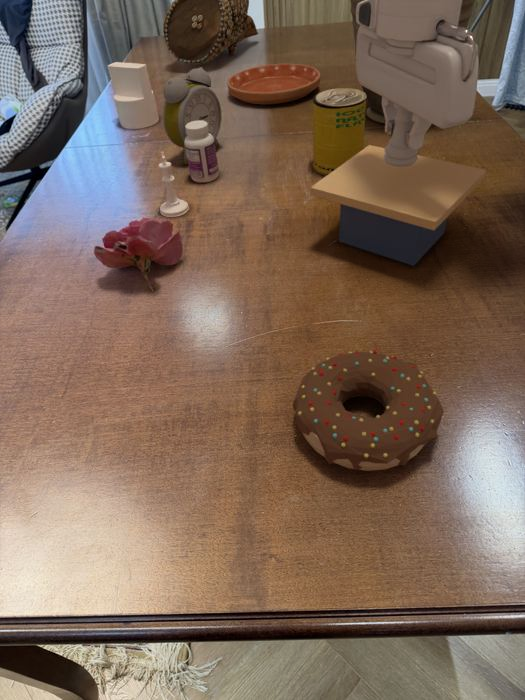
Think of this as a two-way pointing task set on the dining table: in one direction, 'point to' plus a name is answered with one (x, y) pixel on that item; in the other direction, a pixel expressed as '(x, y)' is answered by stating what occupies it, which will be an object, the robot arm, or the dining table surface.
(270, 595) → the dining table surface
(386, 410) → the donut
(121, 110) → the cylinder with rectangular tab
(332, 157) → the beverage can
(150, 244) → the flower
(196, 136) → the pill bottle
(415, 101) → the robot arm
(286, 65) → the saucer
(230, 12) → the basket
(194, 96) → the alarm clock
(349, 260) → the dining table surface
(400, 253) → the board box
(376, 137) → the dining table surface
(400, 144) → the rook chess piece
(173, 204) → the chess piece
